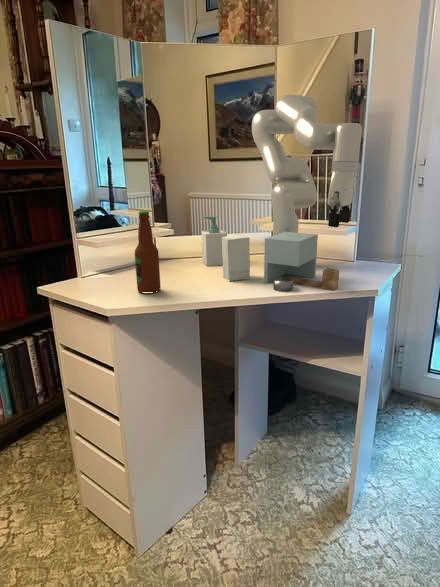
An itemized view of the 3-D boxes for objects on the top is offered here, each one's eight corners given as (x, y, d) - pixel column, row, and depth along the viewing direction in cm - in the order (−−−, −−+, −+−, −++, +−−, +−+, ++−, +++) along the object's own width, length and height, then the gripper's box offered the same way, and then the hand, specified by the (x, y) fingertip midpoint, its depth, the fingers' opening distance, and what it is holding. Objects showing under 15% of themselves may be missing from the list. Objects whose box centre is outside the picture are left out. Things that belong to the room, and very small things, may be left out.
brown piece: (278, 282, 137) (278, 265, 135) (283, 279, 140) (284, 262, 138) (334, 290, 127) (335, 272, 125) (338, 287, 130) (339, 269, 128)
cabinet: (264, 282, 136) (264, 238, 132) (284, 272, 149) (285, 231, 145) (297, 287, 130) (299, 241, 126) (315, 276, 143) (317, 234, 138)
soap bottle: (201, 261, 169) (200, 215, 163) (222, 260, 171) (221, 214, 165) (206, 266, 161) (204, 217, 155) (227, 264, 163) (227, 216, 157)
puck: (270, 290, 128) (270, 281, 128) (278, 285, 133) (278, 277, 132) (287, 293, 125) (287, 283, 124) (295, 288, 130) (295, 279, 129)
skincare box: (243, 275, 146) (243, 234, 142) (250, 279, 141) (250, 236, 137) (221, 277, 144) (221, 235, 139) (228, 282, 138) (227, 238, 134)
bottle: (147, 286, 134) (142, 209, 127) (165, 289, 130) (160, 210, 123) (132, 292, 128) (126, 212, 121) (150, 295, 124) (145, 213, 117)
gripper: (341, 166, 131) (336, 219, 136) (322, 168, 117) (317, 227, 123) (365, 167, 127) (358, 222, 132) (348, 169, 113) (341, 230, 119)
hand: (338, 224), depth 128 cm, fingers open, 9 cm apart
